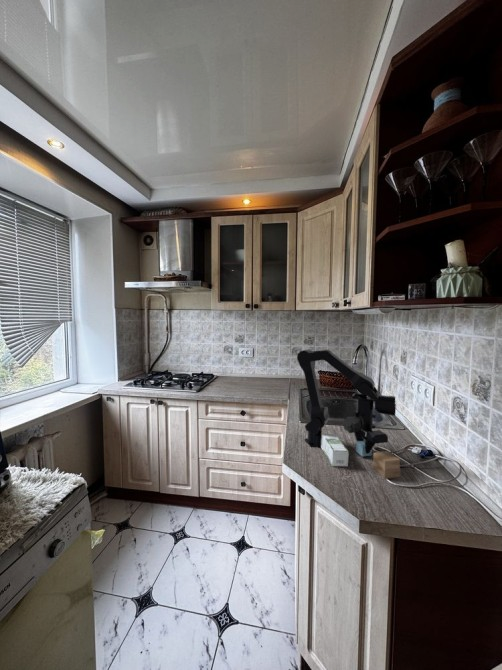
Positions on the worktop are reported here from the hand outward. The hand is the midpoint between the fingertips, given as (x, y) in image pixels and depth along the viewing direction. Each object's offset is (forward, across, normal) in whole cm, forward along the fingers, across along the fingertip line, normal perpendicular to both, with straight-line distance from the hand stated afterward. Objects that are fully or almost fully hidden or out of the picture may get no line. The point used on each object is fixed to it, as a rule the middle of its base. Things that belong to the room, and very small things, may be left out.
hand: (363, 450), depth 101 cm
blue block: (+1, 0, 0) cm, 1 cm away
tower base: (+2, +12, 0) cm, 12 cm away
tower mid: (-1, +12, 0) cm, 12 cm away
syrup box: (-1, +6, -13) cm, 15 cm away
